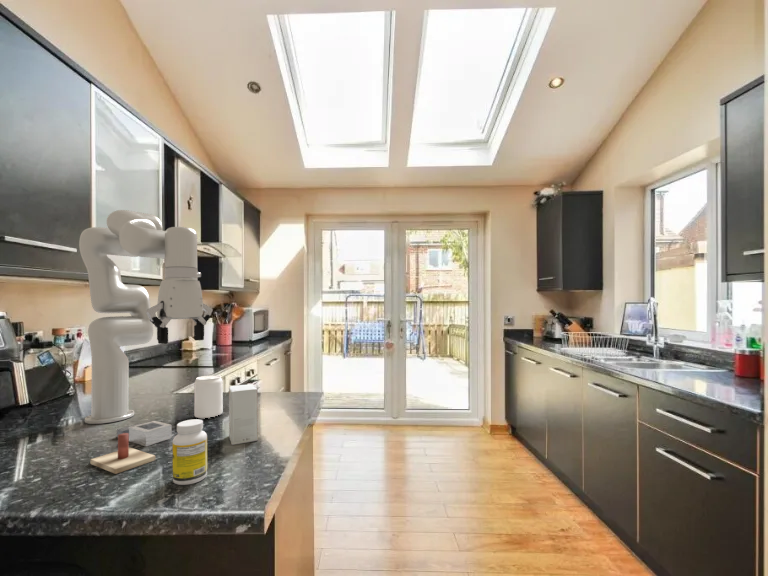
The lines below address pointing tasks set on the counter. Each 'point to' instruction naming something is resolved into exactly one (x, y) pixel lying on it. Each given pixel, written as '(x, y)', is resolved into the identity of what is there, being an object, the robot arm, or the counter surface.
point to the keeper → (122, 457)
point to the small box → (243, 414)
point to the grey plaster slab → (125, 429)
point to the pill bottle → (189, 453)
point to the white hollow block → (150, 433)
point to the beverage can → (208, 396)
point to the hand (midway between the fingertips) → (181, 341)
